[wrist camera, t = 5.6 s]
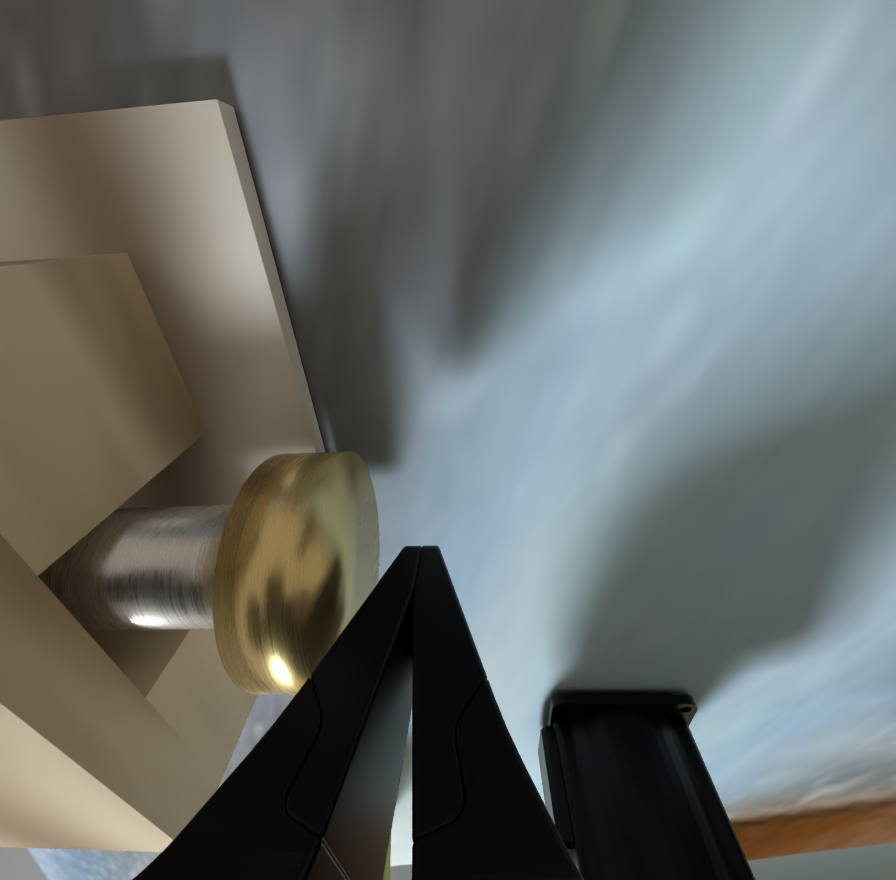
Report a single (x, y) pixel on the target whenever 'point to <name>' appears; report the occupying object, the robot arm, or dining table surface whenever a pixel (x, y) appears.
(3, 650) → the block
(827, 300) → the dining table surface
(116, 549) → the door knob
